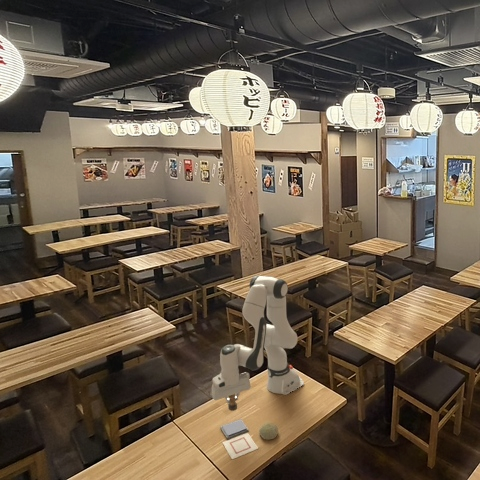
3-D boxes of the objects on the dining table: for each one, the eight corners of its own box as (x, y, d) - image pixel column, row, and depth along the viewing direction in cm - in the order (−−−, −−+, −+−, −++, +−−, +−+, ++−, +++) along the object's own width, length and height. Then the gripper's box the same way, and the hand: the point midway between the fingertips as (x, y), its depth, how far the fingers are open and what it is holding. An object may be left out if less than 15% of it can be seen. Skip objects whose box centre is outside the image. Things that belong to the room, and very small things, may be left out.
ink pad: (241, 420, 214) (241, 418, 214) (248, 431, 206) (248, 428, 206) (220, 428, 209) (220, 425, 209) (227, 439, 201) (226, 436, 201)
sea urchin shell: (254, 429, 204) (264, 416, 205) (265, 434, 208) (274, 422, 209) (262, 441, 196) (272, 427, 197) (273, 446, 200) (283, 433, 200)
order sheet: (247, 433, 205) (247, 432, 205) (258, 448, 194) (258, 448, 194) (222, 442, 199) (222, 442, 199) (231, 459, 189) (231, 458, 189)
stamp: (235, 404, 207) (233, 388, 205) (238, 408, 203) (237, 393, 201) (227, 406, 205) (225, 391, 203) (230, 411, 201) (229, 396, 199)
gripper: (246, 368, 206) (248, 391, 210) (209, 379, 199) (211, 403, 202) (251, 374, 201) (253, 398, 204) (213, 386, 193) (216, 411, 196)
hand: (232, 401), depth 203 cm, fingers closed on stamp, 3 cm apart
